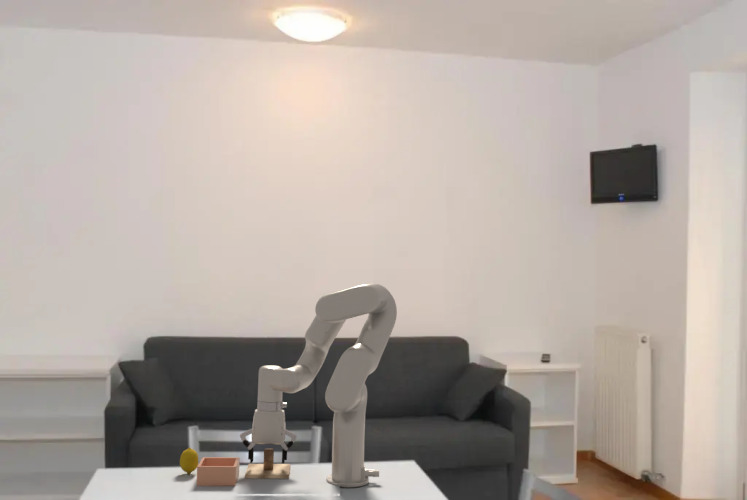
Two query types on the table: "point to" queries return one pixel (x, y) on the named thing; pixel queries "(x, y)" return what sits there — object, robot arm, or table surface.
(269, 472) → the lid
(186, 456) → the lemon
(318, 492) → the table surface
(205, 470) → the pink open box
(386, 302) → the robot arm
